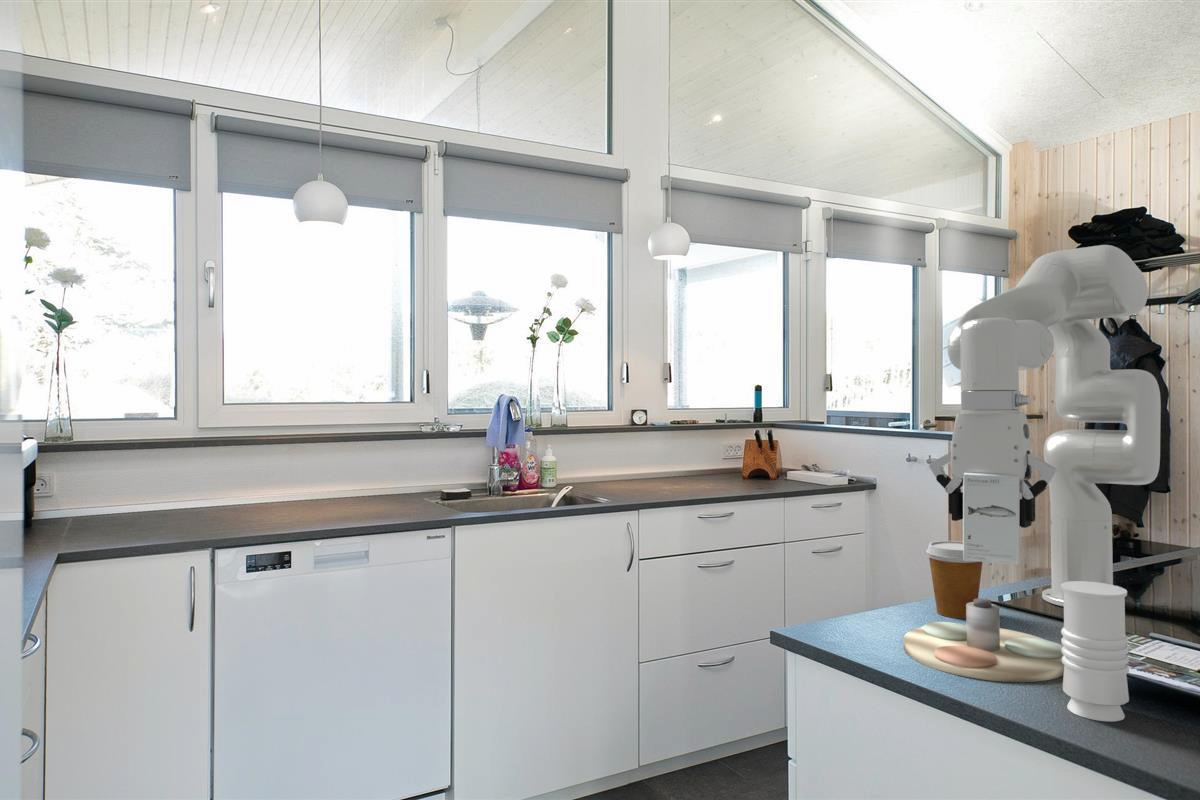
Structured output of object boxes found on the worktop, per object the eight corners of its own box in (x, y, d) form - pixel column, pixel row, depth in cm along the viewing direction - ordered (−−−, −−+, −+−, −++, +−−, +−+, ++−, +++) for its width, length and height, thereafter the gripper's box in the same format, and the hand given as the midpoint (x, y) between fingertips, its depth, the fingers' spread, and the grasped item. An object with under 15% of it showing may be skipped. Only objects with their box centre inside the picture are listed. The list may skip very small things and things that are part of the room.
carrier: (938, 623, 129) (937, 576, 129) (1088, 652, 113) (1087, 598, 113) (878, 656, 113) (877, 602, 113) (1043, 695, 98) (1042, 633, 98)
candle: (1136, 710, 93) (1134, 587, 93) (1121, 728, 88) (1119, 598, 88) (1072, 695, 98) (1070, 578, 98) (1054, 711, 93) (1052, 588, 93)
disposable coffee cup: (976, 624, 128) (975, 553, 128) (918, 614, 134) (917, 546, 134) (993, 612, 135) (992, 544, 135) (938, 603, 141) (936, 538, 141)
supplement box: (962, 561, 109) (961, 473, 109) (964, 552, 116) (963, 469, 116) (1021, 566, 106) (1020, 475, 106) (1020, 556, 113) (1019, 470, 113)
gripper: (1064, 403, 107) (1066, 526, 107) (938, 404, 120) (939, 514, 120) (1049, 403, 102) (1050, 533, 102) (919, 404, 114) (920, 519, 114)
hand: (990, 522), depth 111 cm, fingers closed on supplement box, 8 cm apart
